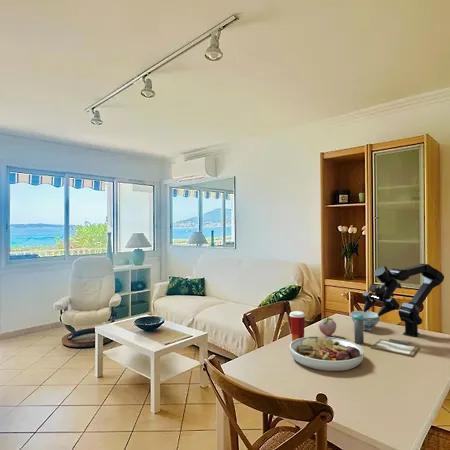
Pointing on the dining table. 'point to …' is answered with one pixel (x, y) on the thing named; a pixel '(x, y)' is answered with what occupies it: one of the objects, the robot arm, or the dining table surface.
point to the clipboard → (396, 347)
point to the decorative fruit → (327, 326)
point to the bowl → (326, 353)
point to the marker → (358, 329)
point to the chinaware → (367, 318)
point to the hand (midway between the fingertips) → (371, 313)
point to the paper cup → (297, 324)
